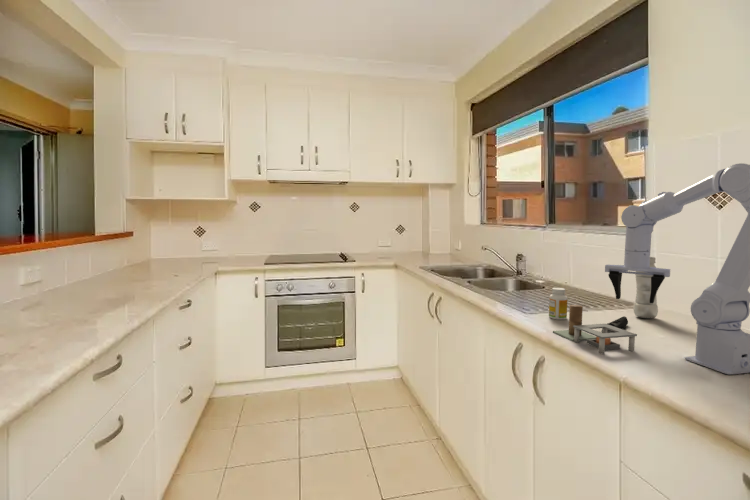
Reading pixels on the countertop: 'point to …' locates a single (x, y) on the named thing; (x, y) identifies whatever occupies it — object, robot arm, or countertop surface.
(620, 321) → the electric trimmer
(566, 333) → the coaster
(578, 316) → the dowel
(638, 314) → the plastic bottle
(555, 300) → the supplement bottle
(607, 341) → the plunger
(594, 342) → the guard
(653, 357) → the countertop surface
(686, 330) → the countertop surface
